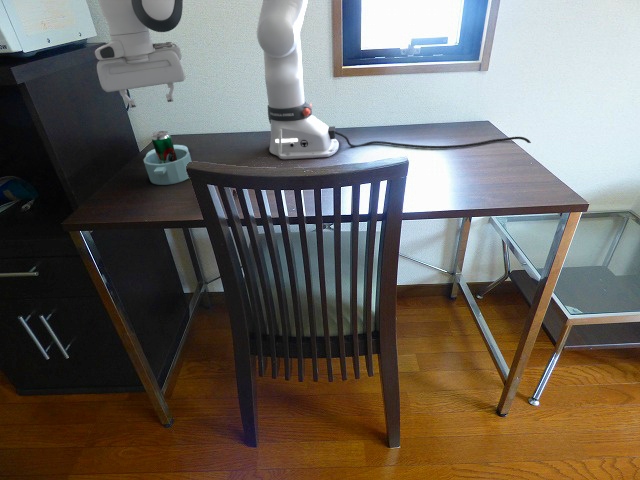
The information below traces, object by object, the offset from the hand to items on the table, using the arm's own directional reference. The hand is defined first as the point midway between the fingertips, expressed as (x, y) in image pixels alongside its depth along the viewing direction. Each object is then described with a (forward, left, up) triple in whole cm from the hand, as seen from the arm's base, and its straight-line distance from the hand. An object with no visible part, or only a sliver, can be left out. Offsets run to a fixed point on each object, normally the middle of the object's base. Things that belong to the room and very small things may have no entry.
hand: (152, 104), depth 101 cm
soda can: (0, 0, -20) cm, 20 cm away
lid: (+10, -15, -20) cm, 27 cm away
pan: (0, 0, -20) cm, 20 cm away
